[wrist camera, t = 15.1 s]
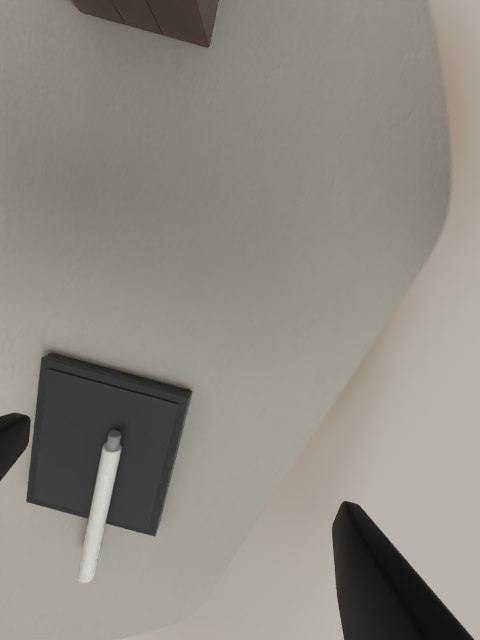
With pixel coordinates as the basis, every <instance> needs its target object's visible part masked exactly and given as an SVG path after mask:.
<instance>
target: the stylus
mask: <svg viewBox="0 0 480 640" xmlns="http://www.w3.org/2000/svg"><path fill="white" fill-rule="evenodd" d="M120 439H121V432H119V431H117V430H113V431H111V432H109V434H108V439H107V442H106V443H105V444H104V445H103V448H102V453H101V458H100V464H99V469H98V474H97V479H96V484H95V489H94V494H93V499H92V504H91V510H90V515H89V520H88V525H87V530H86V535H85V540H84V545H83V550H82V555H81V561H80V566H79V571H78V580H79V581H80V582H81V583H87V582H89V581H91V580H92V579H93V577H94V575H95V570H96V565H97V561H98V556H99V551H100V547H101V542H102V538H103V533H104V528H105V524H106V519H107V514H108V510H109V505H110V500H111V496H112V491H113V486H114V482H115V477H116V472H117V468H118V463H119V458H120V454H121V449H122V446H121V444H120Z"/></svg>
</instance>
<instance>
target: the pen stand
mask: <svg viewBox="0 0 480 640" xmlns="http://www.w3.org/2000/svg"><path fill="white" fill-rule="evenodd" d="M218 1H219V0H72V2H73V3H74V4H75V5H76V7H77V8H78V9H79V10H80V11H81V12H84V13H87V14H91V15H94V16H98V17H102V18H105V19H109V20H112V21H116V22H120V23H123V24H127V25H130V26H133V27H137V28H141V29H144V30H148V31H151V32H155V33H158V34H164V35H166V36H169V37H173V38H176V39H180V40H184V41H187V42H191V43H194V44H198V45H201V46H205V47H209V46H210V41H211V36H212V31H213V26H214V21H215V16H216V11H217V6H218Z"/></svg>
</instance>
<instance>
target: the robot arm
mask: <svg viewBox="0 0 480 640" xmlns="http://www.w3.org/2000/svg"><path fill="white" fill-rule="evenodd" d="M30 422H31V421H30V417H29V416H27V415H23V414H19V413H11V414H8V415H4V416H1V417H0V481H1V479H2V478H3V477H4V476H5V474H6V473H7V472H8V471H9V469H10V468H11V467H12V465H13V464H14V463H15V462H16V460H17V459H18V458H19V457H20V455H21V454H22V453H23V452H24V450H25V449H26V447H27V445H28V442H29V434H30ZM332 538H333V551H334V564H335V576H336V589H337V598H338V604H339V611H340V617H341V623H342V628H343V635H344V640H474V639H473V638H472V636H471V635H470V634H469V633H468V632H467V631H466V629H465V628H464V627H463V626H462V625H461V624H460V622H459V621H458V620H457V619H456V618H455V617H454V616H453V614H452V613H451V612H450V611H449V610H448V608H447V607H446V606H445V605H444V604H443V602H442V601H441V600H440V599H439V598H438V597H437V595H436V594H435V593H434V592H433V591H432V590H431V589H430V587H429V586H428V585H427V584H426V583H425V581H424V580H423V579H422V578H421V577H420V576H419V574H418V573H417V572H416V571H415V570H414V569H413V568H412V566H411V565H410V564H409V563H408V562H407V560H406V559H405V558H404V557H403V556H402V555H401V553H399V551H398V550H397V549H396V548H395V547H394V545H393V544H392V543H391V542H390V541H389V539H388V538H387V537H386V536H385V535H384V534H383V532H382V531H381V530H380V529H379V528H378V527H377V525H376V524H375V523H374V522H373V521H372V520H371V518H370V517H369V516H368V515H367V514H366V513H365V511H364V510H363V509H362V508H361V507H360V506H359V505H358V504H355V503H352V502H347V501H344V502H343V503H342V504H341V506H340V508H339V510H338V513H337V515H336V518H335V520H334V522H333V526H332Z"/></svg>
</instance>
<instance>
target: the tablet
mask: <svg viewBox="0 0 480 640" xmlns="http://www.w3.org/2000/svg"><path fill="white" fill-rule="evenodd" d="M191 395H192V391H190V390H186V389H182V388H179V387H175V386H171V385H167V384H164V383H160V382H156V381H153V380H149V379H145V378H142V377H138V376H134V375H131V374H127V373H123V372H120V371H116V370H112V369H109V368H105V367H101V366H98V365H94V364H90V363H87V362H83V361H79V360H76V359H72V358H68V357H65V356H61V355H57V354H53V353H50V354H48V355H46V356H44V357H42V359H41V368H40V378H39V387H38V396H37V406H36V415H35V425H34V434H33V444H32V453H31V462H30V472H29V481H28V491H27V500H26V502H29V503H32V504H36V505H40V506H43V507H47V508H51V509H55V510H58V511H62V512H66V513H69V514H73V515H77V516H81V517H84V518H88V519H89V515H90V510H91V504H92V499H93V494H94V489H95V484H96V479H97V474H98V469H99V464H100V458H101V453H102V448H103V445H104V444H105V443H106V442H107V439H108V434H109V432H111V431H113V430H117V431H119V432H121V439H120V444H121V446H122V449H121V454H120V458H119V463H118V468H117V472H116V477H115V482H114V486H113V491H112V496H111V500H110V505H109V510H108V514H107V519H106V523H107V524H110V525H114V526H118V527H122V528H125V529H129V530H133V531H136V532H140V533H144V534H148V535H151V536H155V535H156V533H157V530H158V527H159V523H160V519H161V515H162V511H163V507H164V503H165V499H166V495H167V491H168V487H169V483H170V479H171V475H172V471H173V467H174V463H175V459H176V455H177V451H178V447H179V443H180V439H181V435H182V431H183V427H184V423H185V419H186V415H187V411H188V407H189V403H190V399H191Z"/></svg>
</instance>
